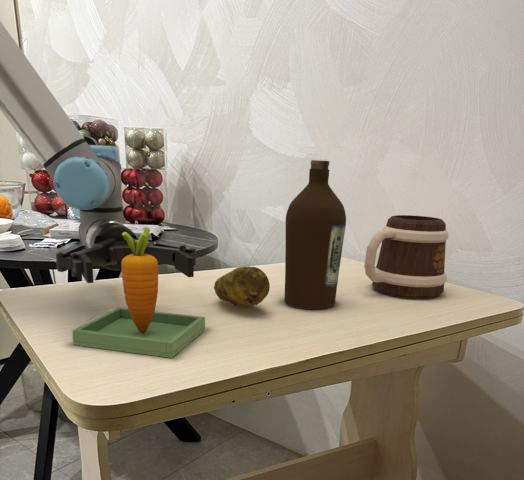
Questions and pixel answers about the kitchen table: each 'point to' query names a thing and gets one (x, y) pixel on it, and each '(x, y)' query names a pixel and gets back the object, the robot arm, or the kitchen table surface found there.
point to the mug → (408, 257)
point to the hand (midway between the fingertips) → (142, 270)
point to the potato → (243, 286)
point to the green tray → (132, 340)
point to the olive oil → (314, 243)
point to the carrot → (140, 281)
